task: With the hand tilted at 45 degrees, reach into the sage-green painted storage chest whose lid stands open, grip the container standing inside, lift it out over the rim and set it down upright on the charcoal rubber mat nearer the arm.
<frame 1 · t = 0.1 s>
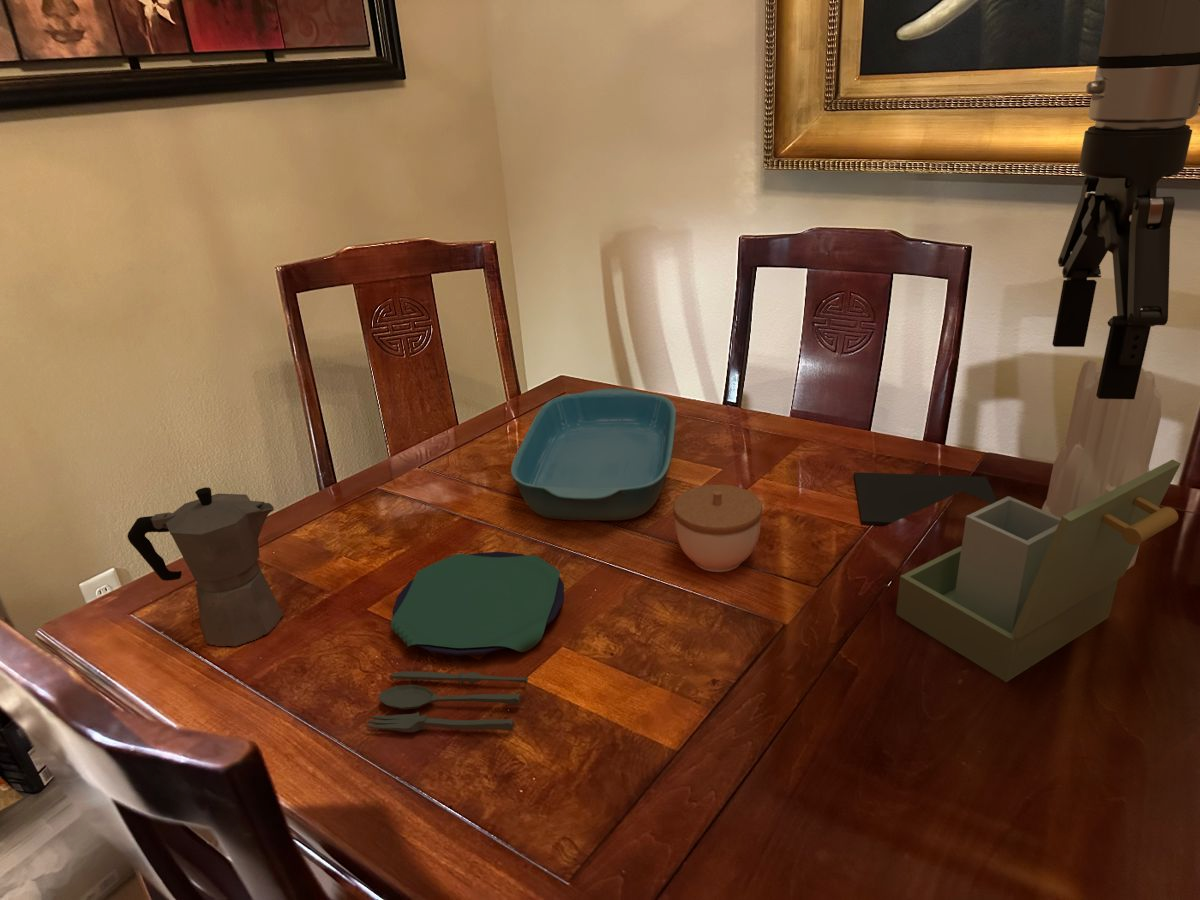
hand: (1089, 370, 77), 29 cm above the table, tool pointing down, fingers open, 13 cm apart
cutlery set: (470, 640, 94), on the table
green open box: (1000, 620, 91), on the table
coffeepot: (233, 626, 99), on the table
casserole dish: (601, 476, 128), on the table
decorative vase: (1083, 554, 102), on the table
mat: (925, 501, 115), on the table
trinket box: (717, 560, 105), on the table
cabinet lid: (1113, 560, 78), point 13 cm above the table, hinge at 100.0°
container: (1000, 615, 91), point 1 cm above the table, touching green open box
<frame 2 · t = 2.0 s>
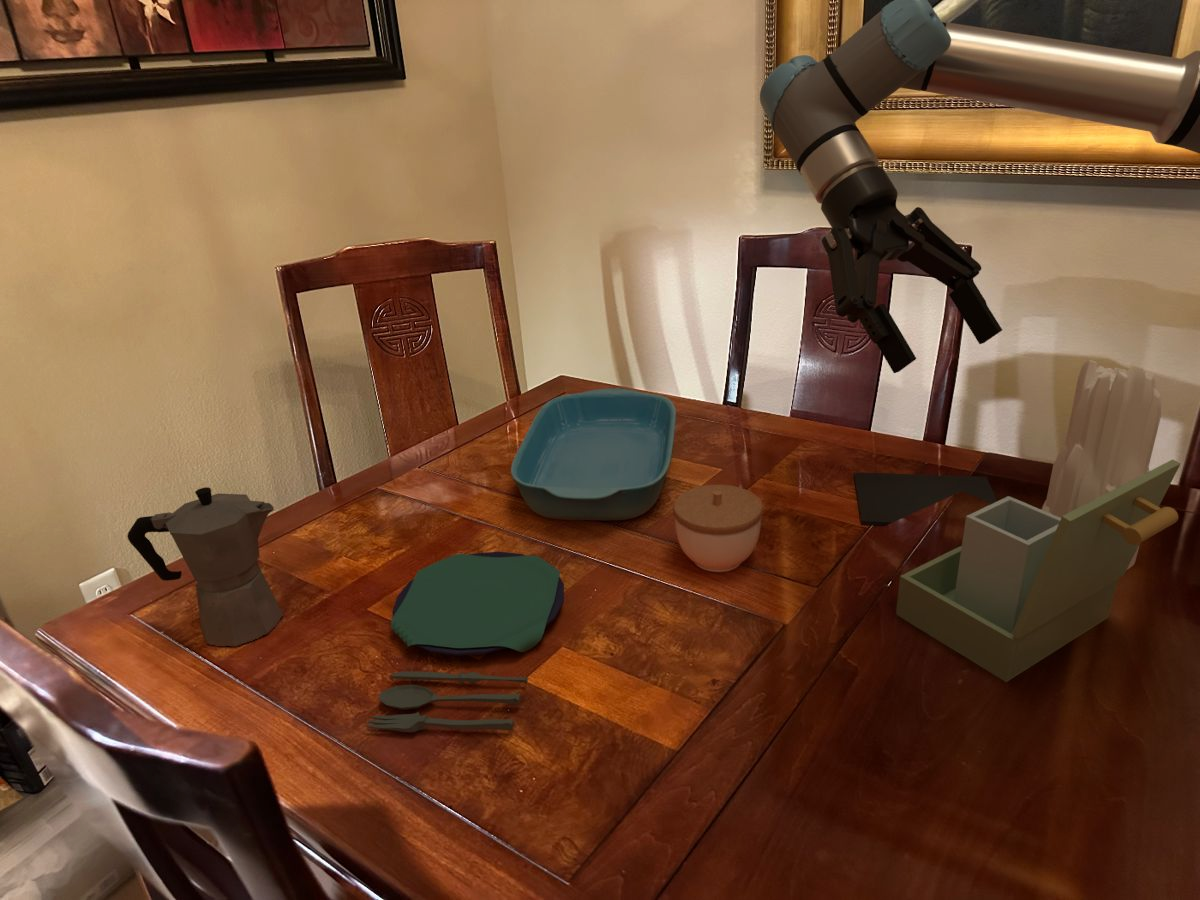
hand: (949, 351, 87), 28 cm above the table, tool tilted 45°, fingers open, 13 cm apart
nothing on the table moved.
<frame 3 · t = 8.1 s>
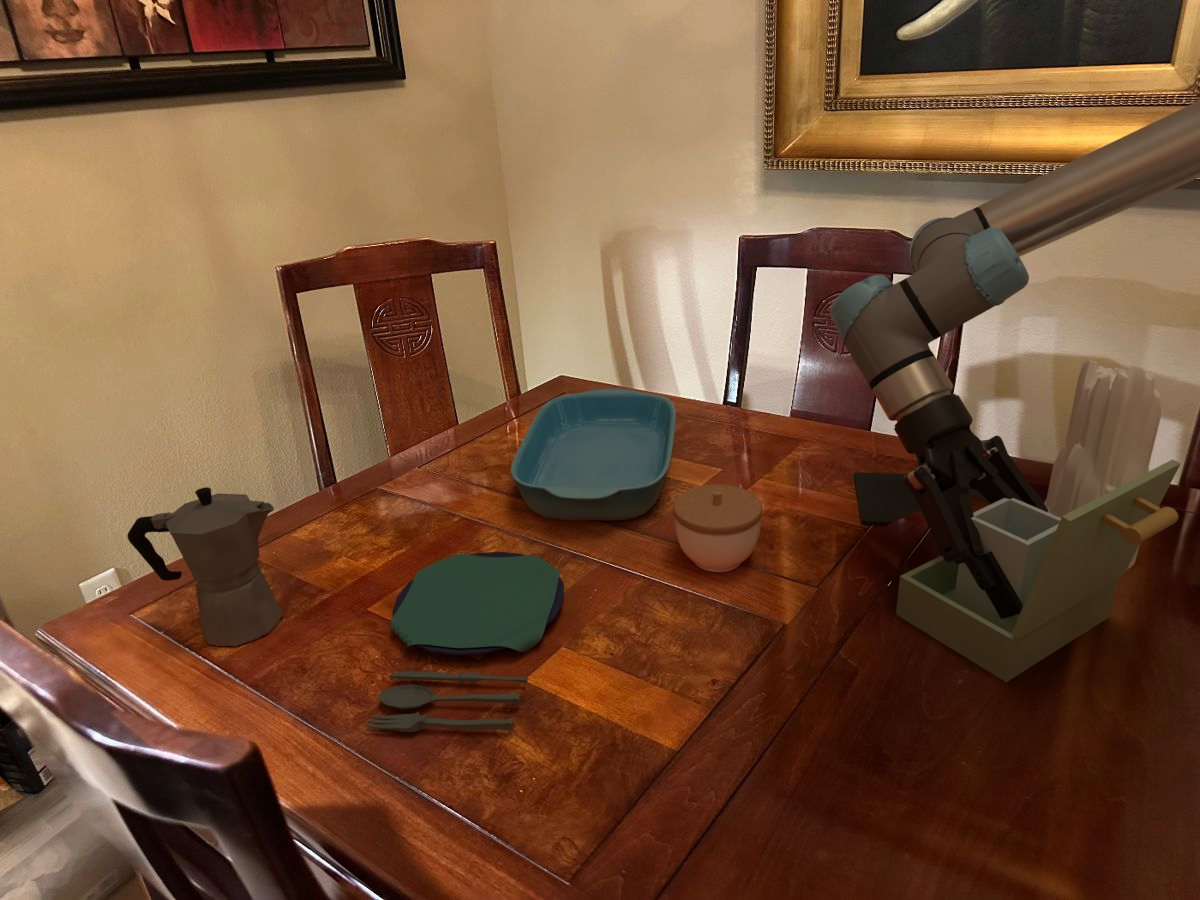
hand: (1036, 600, 86), 5 cm above the table, tool tilted 45°, fingers closed on container, 7 cm apart
container: (1000, 615, 91), point 1 cm above the table, touching green open box, gripper
everything else where it was.
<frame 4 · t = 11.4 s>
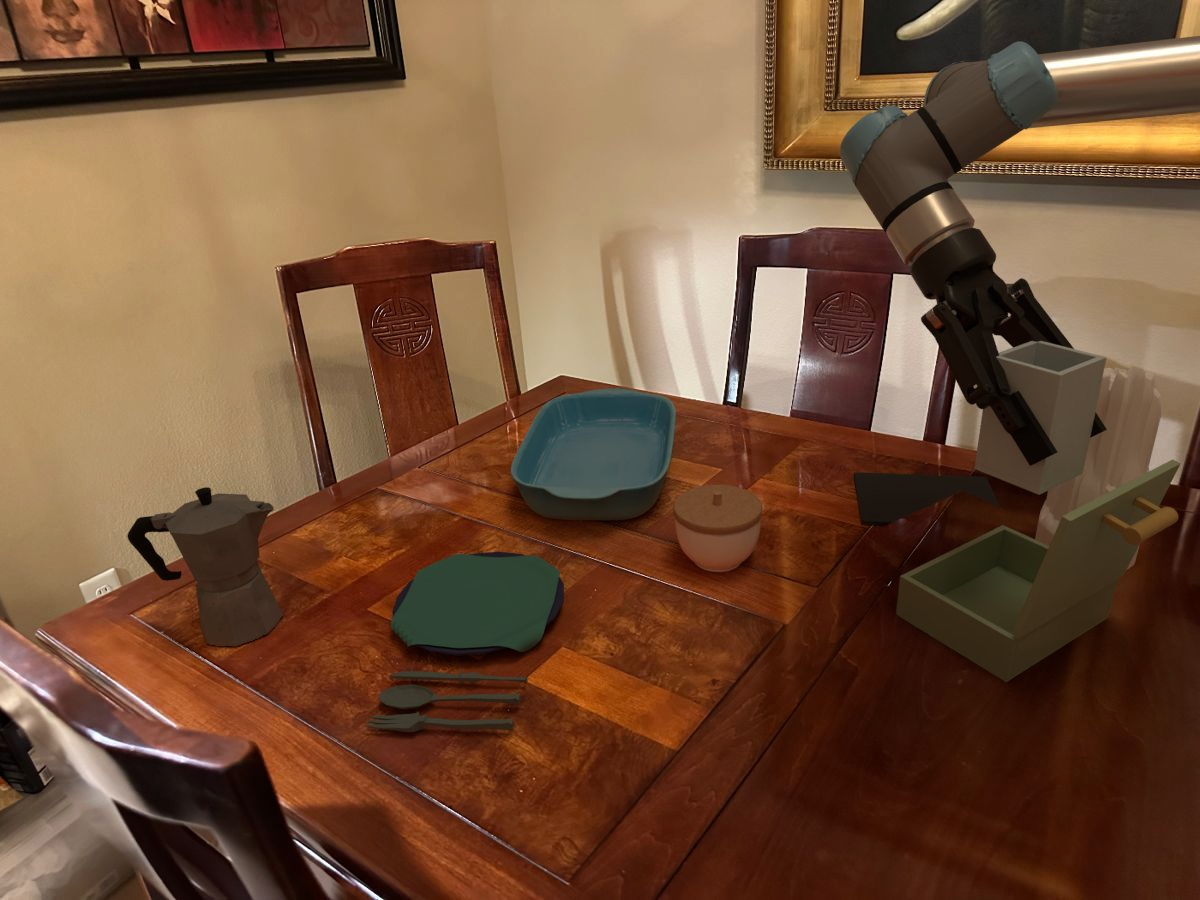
hand: (1068, 447, 79), 22 cm above the table, tool tilted 45°, fingers closed on container, 7 cm apart
container: (1027, 471, 83), point 18 cm above the table, touching gripper
everything else where it was.
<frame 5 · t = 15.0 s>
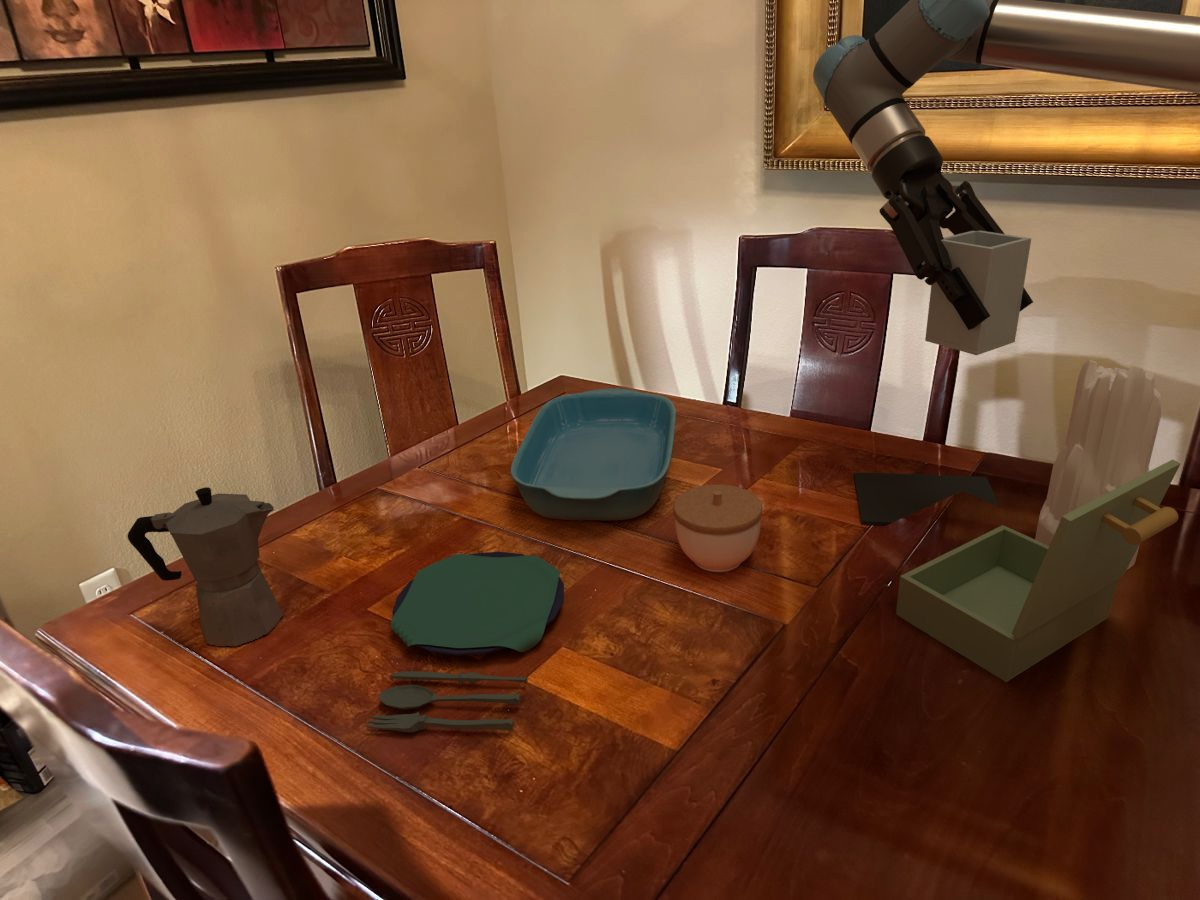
hand: (1001, 315, 95), 29 cm above the table, tool tilted 45°, fingers closed on container, 7 cm apart
container: (969, 341, 99), point 25 cm above the table, touching gripper
everything else where it was.
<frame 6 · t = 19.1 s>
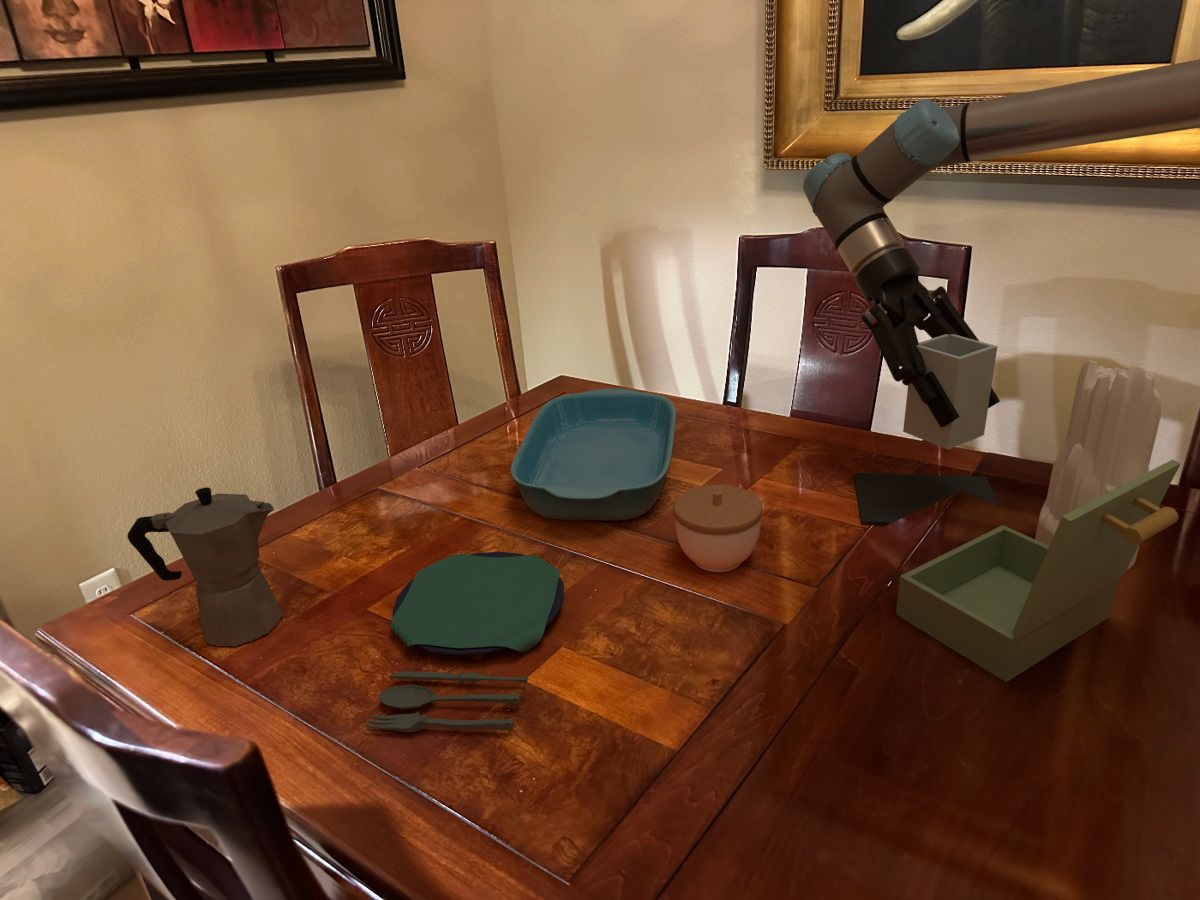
hand: (970, 414, 105), 15 cm above the table, tool tilted 45°, fingers closed on container, 7 cm apart
container: (943, 433, 109), point 11 cm above the table, touching gripper
everything else where it was.
when the fingers open (4 cm above the table, at t = 22.2 s): container stays where it is, resting on mat.
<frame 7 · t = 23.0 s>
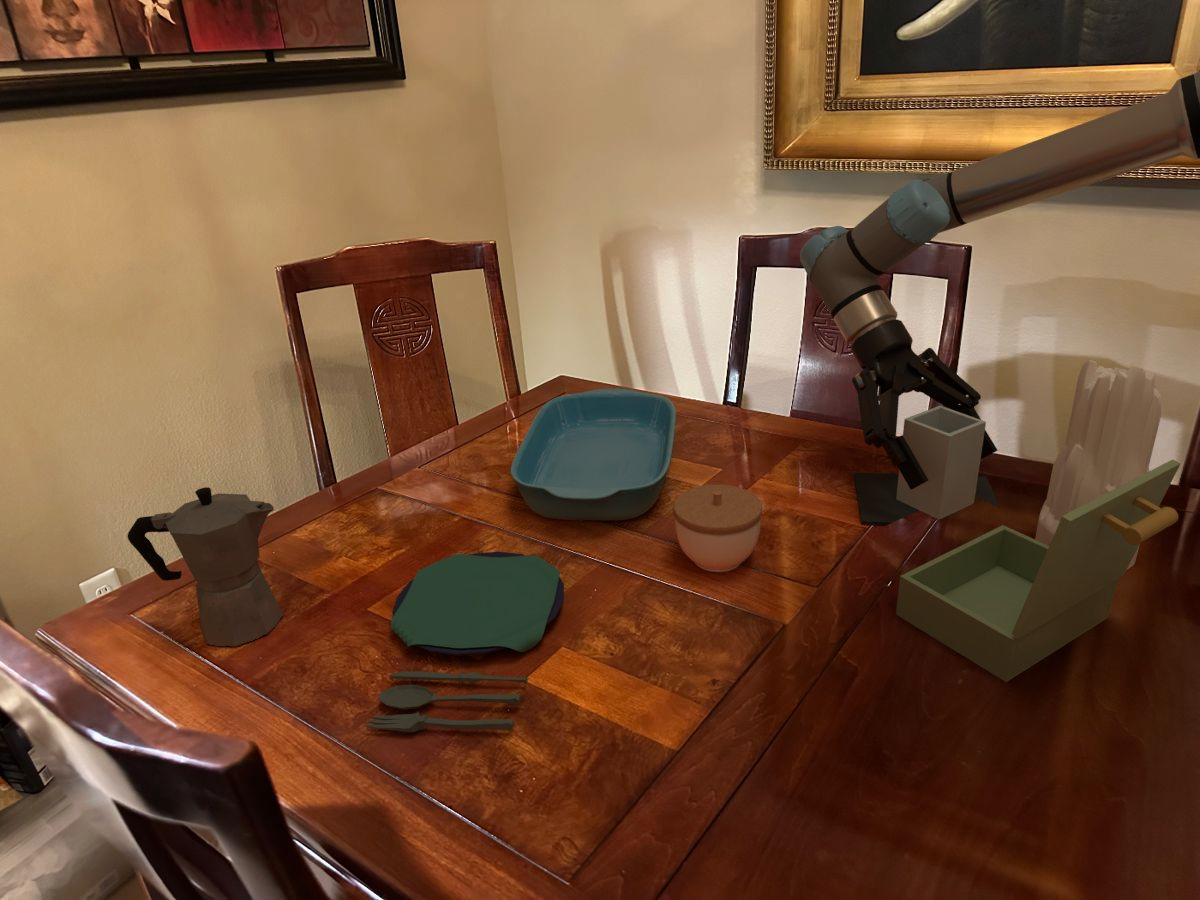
hand: (955, 470, 109), 6 cm above the table, tool tilted 45°, fingers open, 13 cm apart
container: (934, 501, 113), point 1 cm above the table, touching mat
everything else where it was.
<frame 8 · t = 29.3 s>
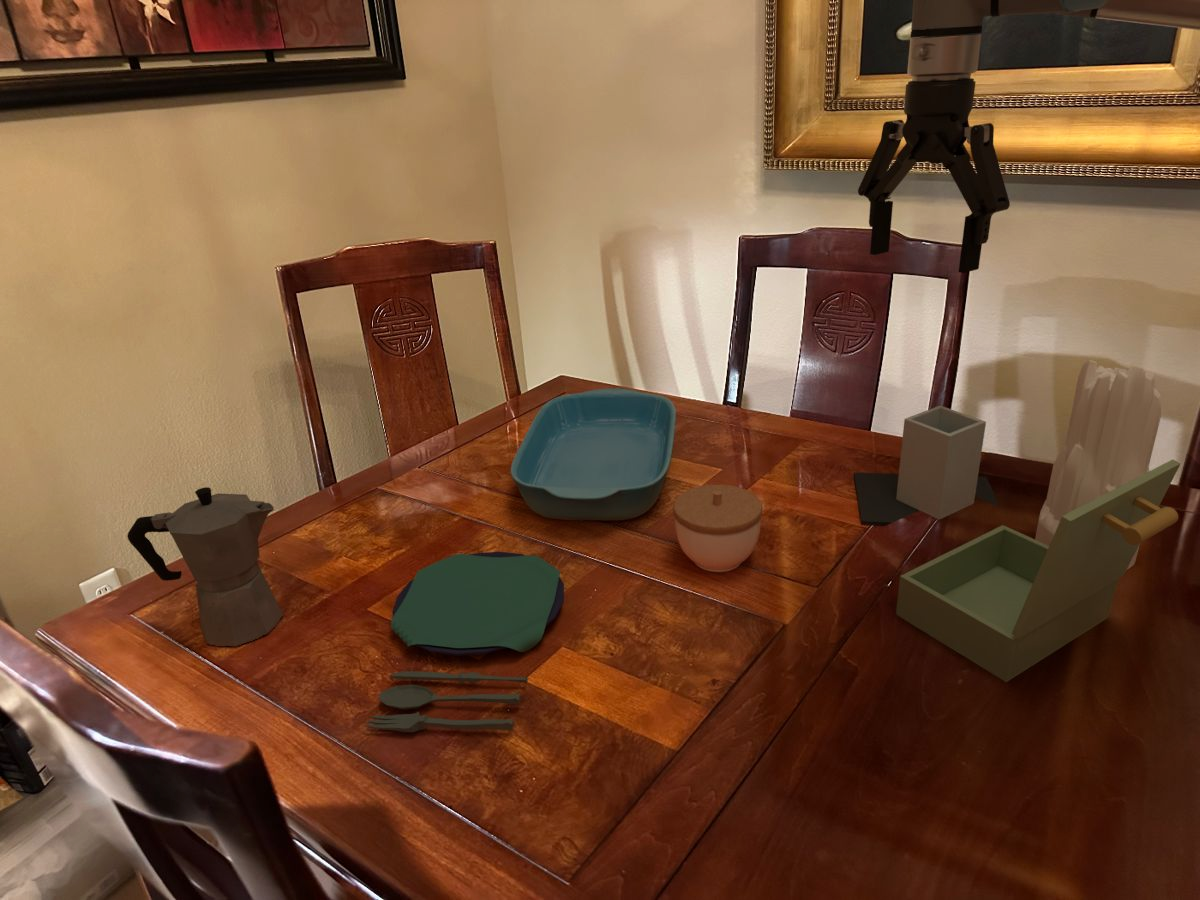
hand: (921, 261, 106), 32 cm above the table, tool pointing down, fingers open, 13 cm apart
nothing on the table moved.
at the end: container inside the target area on the mat (1.3 cm from its centre), point 0.6 cm above the mat's base; container tilted 0°; the gripper is holding nothing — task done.
